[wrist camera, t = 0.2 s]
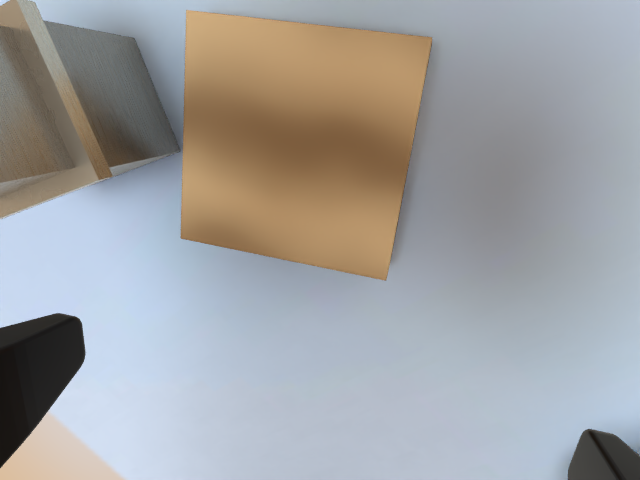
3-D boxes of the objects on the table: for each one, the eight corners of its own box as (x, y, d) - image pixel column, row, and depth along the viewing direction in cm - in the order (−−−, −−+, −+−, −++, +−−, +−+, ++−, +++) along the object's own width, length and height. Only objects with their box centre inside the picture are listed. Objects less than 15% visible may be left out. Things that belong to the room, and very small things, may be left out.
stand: (389, 265, 22) (385, 280, 20) (199, 227, 24) (180, 238, 22) (431, 43, 19) (432, 37, 17) (208, 17, 21) (186, 10, 19)
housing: (190, 156, 23) (-79, 225, 11) (92, 193, 25) (-230, 287, 13) (137, 26, 21) (-239, -63, 9) (37, 75, 23) (-381, 55, 11)
